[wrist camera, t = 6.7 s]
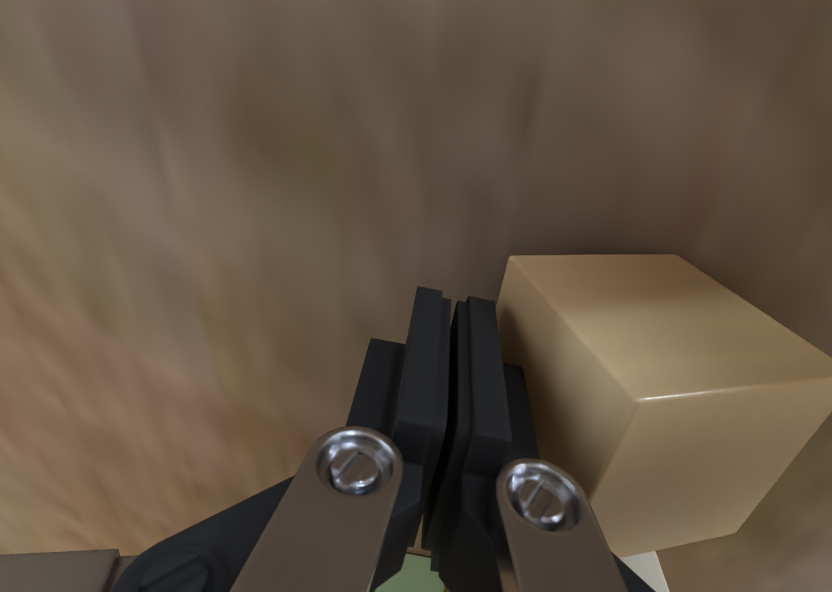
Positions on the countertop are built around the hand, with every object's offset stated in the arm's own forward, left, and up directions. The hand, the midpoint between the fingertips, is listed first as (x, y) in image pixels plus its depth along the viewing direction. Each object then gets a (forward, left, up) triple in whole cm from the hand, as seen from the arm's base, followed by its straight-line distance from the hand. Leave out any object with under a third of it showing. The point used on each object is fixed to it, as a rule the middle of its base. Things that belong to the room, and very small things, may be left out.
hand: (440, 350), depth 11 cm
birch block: (0, +3, -1) cm, 3 cm away
